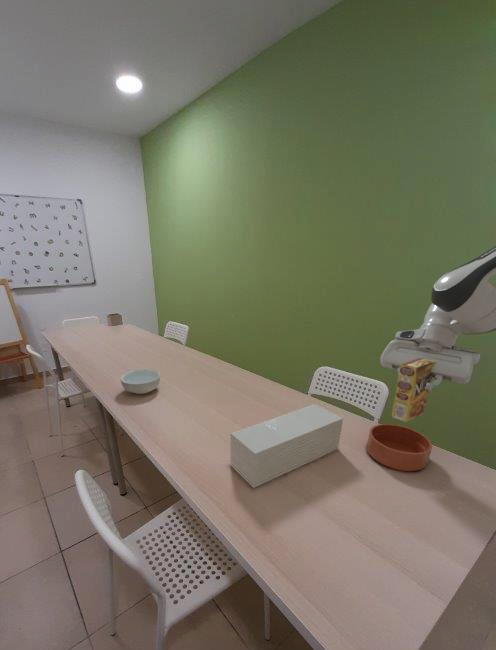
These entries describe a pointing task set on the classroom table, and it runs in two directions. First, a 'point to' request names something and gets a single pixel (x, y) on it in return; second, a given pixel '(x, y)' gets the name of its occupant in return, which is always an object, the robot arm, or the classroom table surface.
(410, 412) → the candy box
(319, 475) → the classroom table surface
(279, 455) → the pale grey rectangular box
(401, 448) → the pot
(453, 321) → the robot arm
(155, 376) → the cereal bowl
